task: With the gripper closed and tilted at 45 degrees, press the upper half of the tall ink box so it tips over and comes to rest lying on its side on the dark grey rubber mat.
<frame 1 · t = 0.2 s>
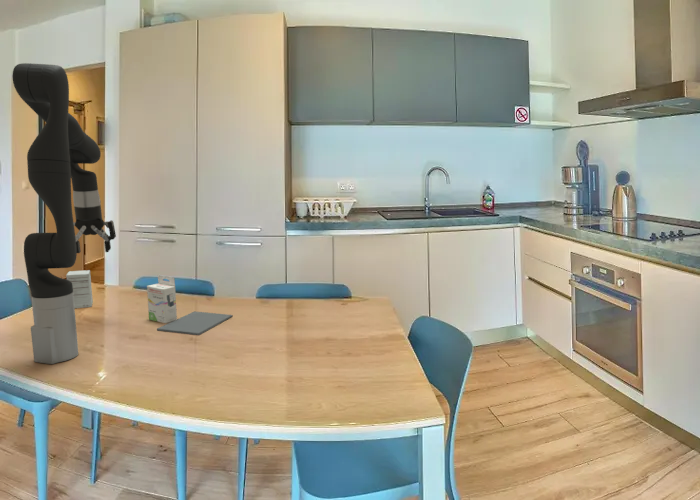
hand: (93, 252, 155), 23 cm above the table, tool pointing down, fingers open, 8 cm apart
ink box: (162, 320, 157), on the table
supplement box: (81, 306, 173), on the table
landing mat: (196, 323, 153), on the table
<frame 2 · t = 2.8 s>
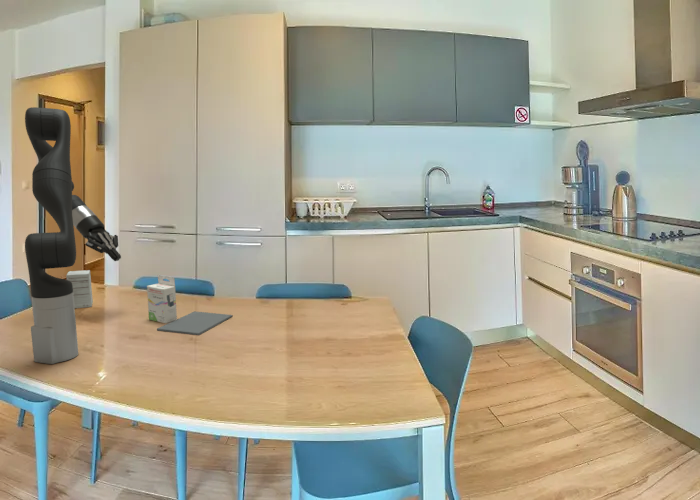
hand: (118, 259, 158), 20 cm above the table, tool tilted 45°, fingers closed
nothing on the table moved.
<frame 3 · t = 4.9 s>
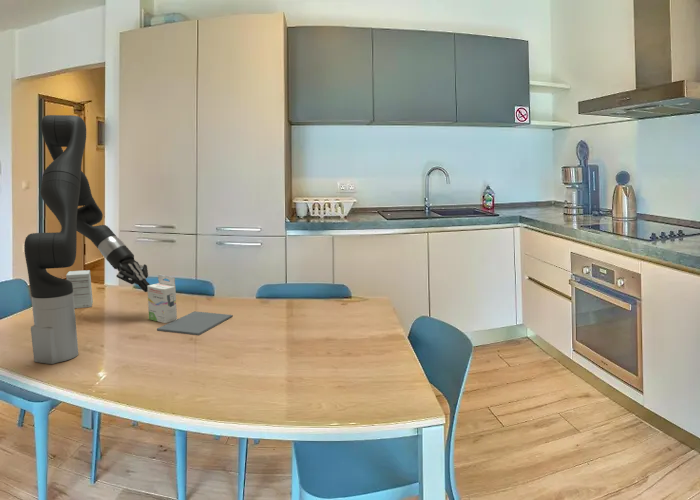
hand: (148, 290, 157), 10 cm above the table, tool tilted 45°, fingers closed
ink box: (162, 320, 157), on the table, touching gripper
everything else where it was.
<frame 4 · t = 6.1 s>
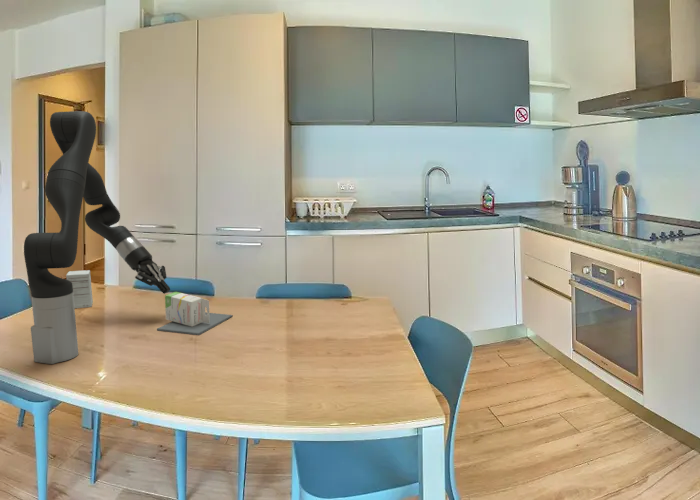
hand: (167, 291, 155), 10 cm above the table, tool tilted 45°, fingers closed
ink box: (170, 305, 154), point 6 cm above the table, touching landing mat
everything else where it was.
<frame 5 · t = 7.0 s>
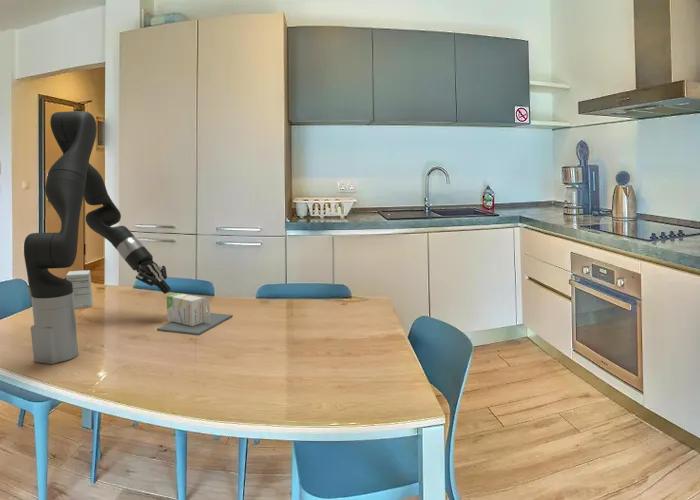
hand: (168, 291, 155), 10 cm above the table, tool tilted 45°, fingers closed
ink box: (171, 306, 155), point 5 cm above the table, touching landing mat
everything else where it was.
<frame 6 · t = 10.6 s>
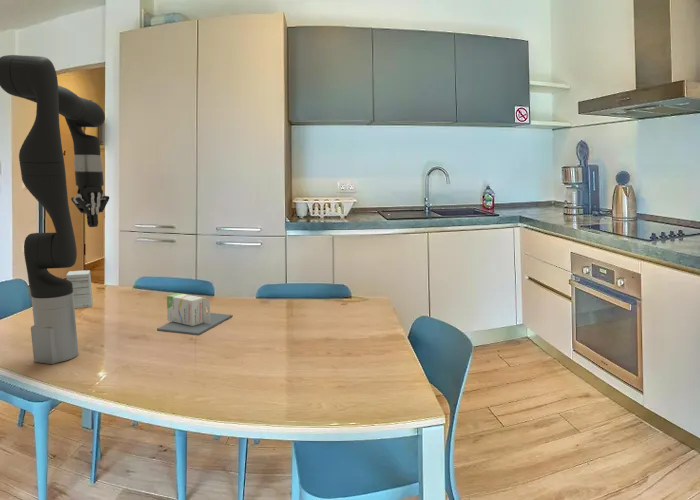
hand: (93, 226, 145), 32 cm above the table, tool pointing down, fingers closed
nothing on the table moved.
at the end: ink box tilted 90°; ink box touching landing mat; ink box inside the target area (3.0 cm from its centre), point 4.9 cm above the table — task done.
